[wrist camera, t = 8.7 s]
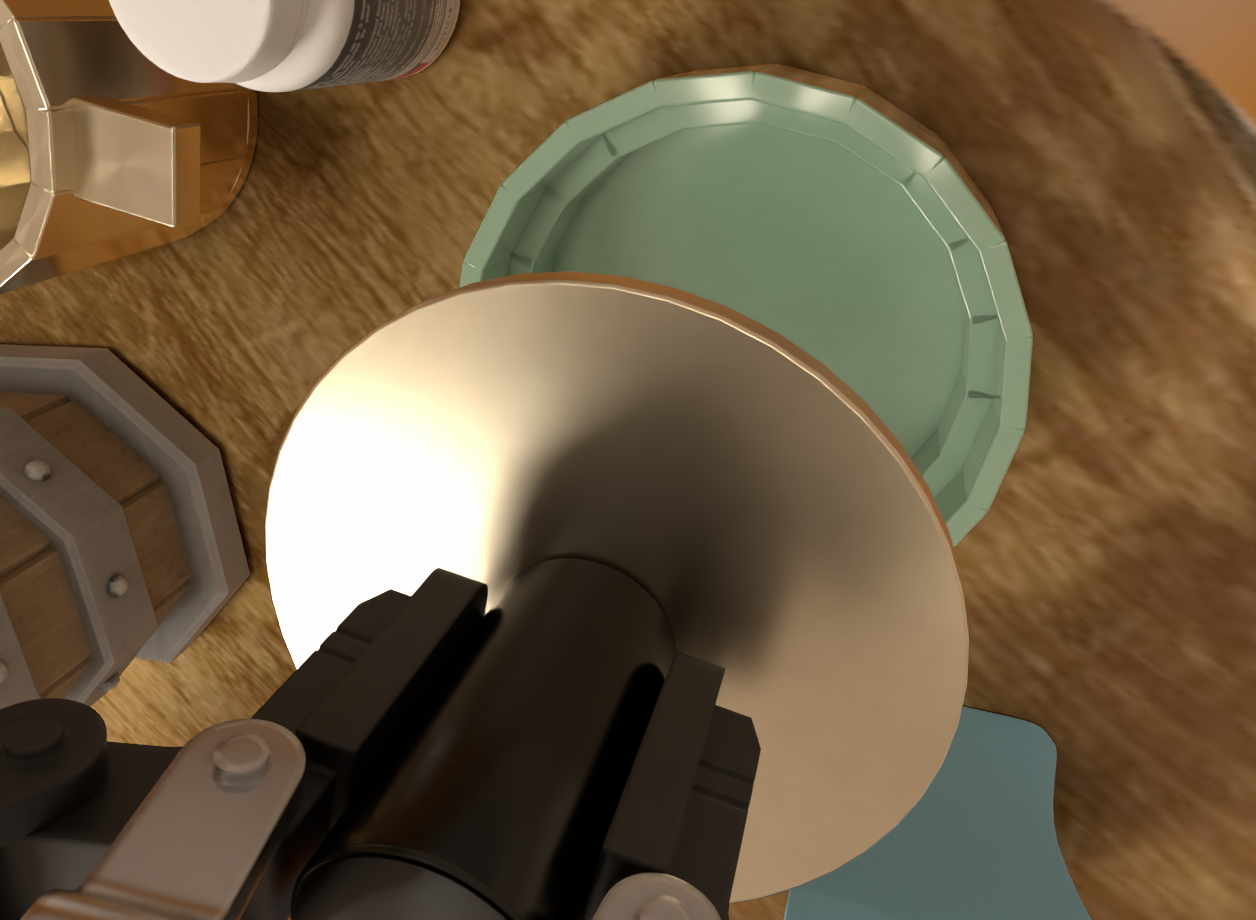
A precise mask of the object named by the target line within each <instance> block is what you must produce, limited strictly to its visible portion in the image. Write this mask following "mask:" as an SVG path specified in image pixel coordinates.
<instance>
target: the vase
mask: <svg viewBox="0 0 1256 920" xmlns="http://www.w3.org/2000/svg"><path fill="white" fill-rule="evenodd" d="M1056 762H1057V750H1056V746H1055V744H1054V742H1053V741H1052V739H1051V738H1050V737H1049V735H1048V734H1047V733H1046V731H1045V730H1044V729H1042V728H1041V727H1039V726H1038V725H1036V724H1034V723H1031V722H1028V721H1025V720H1021V719H1017V718H1013V717H1009V716H1005V715H1000V714H996V713H991V712H987V711H982V710H977V709H973V708H968V707H964V706H963V707H962V712H961V716H960V721H959V725H958V727H957V730H956V732H955V735H954V737H953V740H952V742H951V745H950V747H949V750H948V752H947V755H946V757H945V760H944V762H943V764H942V765H941V767H940V769H939V770H938V772H937V774H936V775H935V777H934V778H933V780H932V782H931V783H930V785H929V787H928V788H927V790H926V791H925V793H924V795H923V796H922V798H921V799H920V800H919V801H918V802H917V803H916V804H915V806H914V807H913V808H912V809H911V810H910V811H909V813H908V814H907V815H906V816H905V817H904V818H903V819H902V821H901V822H900V823H899V824H898V825H897V826H896V827H895V828H894V829H893V830H892V831H890V832H889V833H888V834H887V835H886V836H884V837H883V838H882V839H881V840H880V841H878V842H877V843H876V844H875V845H874V846H873V847H871V848H870V849H869V850H868V851H867V852H865V853H863V854H862V855H860V856H858V857H857V858H855V859H854V860H852V861H850V862H849V863H847V864H845V865H844V866H842V867H840V868H839V869H837V870H836V871H834V872H832V873H829V874H827V875H825V876H823V877H820V878H818V879H816V880H813V881H811V882H809V883H807V884H804V885H802V886H800V887H797V888H794V889H790V891H789V896H788V901H787V906H786V911H785V916H784V920H1092V919H1091V918H1090V916H1089V914H1088V912H1087V910H1086V908H1085V906H1084V905H1083V903H1082V901H1081V899H1080V896H1079V894H1078V892H1077V890H1076V888H1075V886H1074V884H1073V881H1072V879H1071V877H1070V875H1069V873H1068V870H1067V867H1066V864H1065V862H1064V859H1063V856H1062V853H1061V850H1060V848H1059V845H1058V841H1057V836H1056V831H1055V825H1054V812H1053V797H1054V782H1055V772H1056Z"/></svg>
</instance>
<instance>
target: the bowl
mask: <svg viewBox="0 0 1256 920" xmlns="http://www.w3.org/2000/svg"><path fill="white" fill-rule="evenodd" d="M569 271H571V272H583V273H594V274H605V275H616V276H625V277H629V278H634V279H638V280H643V281H647V282H651V283H656V284H660V285H665V286H669V287H674V288H677V289H680V290H683V291H686V292H688V293H691V294H694V295H697V296H699V297H702V298H705V299H707V300H710V301H713V302H716V303H718V304H721V305H724V306H727V307H729V308H731V309H733V310H735V311H737V312H739V313H741V314H743V315H745V316H747V317H748V318H750V319H752V320H754V321H756V322H758V323H760V324H762V325H764V326H766V327H768V328H770V329H772V330H774V331H776V332H777V333H779V334H781V335H782V336H783V337H785V338H786V339H788V340H789V341H791V342H792V343H794V344H795V345H797V346H798V347H799V348H801V349H802V350H804V351H805V352H807V353H808V354H810V355H811V356H812V357H814V358H815V359H817V360H818V361H820V362H821V363H823V364H824V365H825V366H826V367H827V368H829V369H830V370H831V371H832V372H833V373H834V374H835V375H836V376H837V377H839V378H840V379H841V380H842V381H843V382H844V383H845V384H846V385H848V386H849V387H850V388H851V389H852V390H853V391H854V392H855V393H856V394H858V395H859V396H860V397H861V398H862V399H863V400H864V401H865V402H866V403H867V404H868V405H869V406H870V408H871V409H872V410H873V411H874V412H875V413H876V415H877V416H878V417H879V418H880V419H881V420H882V422H883V423H884V424H885V425H886V426H887V427H888V429H889V430H890V431H891V432H892V433H893V434H894V436H895V437H896V438H897V439H898V440H899V441H900V443H901V444H902V446H903V447H904V449H905V450H906V452H907V454H908V455H909V457H910V458H911V460H912V461H913V463H914V464H915V466H916V468H917V469H918V471H919V472H920V474H921V475H922V477H923V478H924V480H925V482H926V483H927V485H928V486H929V488H930V491H931V493H932V495H933V497H934V499H935V501H936V504H937V506H938V508H939V510H940V512H941V515H942V517H943V519H944V521H945V523H946V526H947V528H948V530H949V532H950V536H951V539H952V543H953V546H954V547H955V546H956V545H957V544H958V543H959V542H960V541H961V540H962V539H963V538H964V537H965V535H966V534H967V533H968V532H969V531H970V530H971V529H972V528H973V527H974V526H975V525H976V524H977V523H978V522H979V521H980V520H981V519H982V518H983V517H984V516H985V515H986V514H987V513H988V510H989V509H990V507H991V505H992V503H993V501H994V499H995V496H996V494H997V492H998V490H999V488H1000V485H1001V483H1002V481H1003V479H1004V477H1005V475H1006V472H1007V470H1008V468H1009V466H1010V464H1011V461H1012V459H1013V457H1014V455H1015V453H1016V450H1017V448H1018V446H1019V444H1020V442H1021V440H1022V437H1023V435H1024V433H1025V428H1026V426H1027V413H1028V400H1029V387H1030V375H1031V362H1032V349H1033V336H1032V335H1033V331H1032V328H1031V324H1030V321H1029V317H1028V314H1027V310H1026V307H1025V303H1024V300H1023V296H1022V293H1021V289H1020V286H1019V282H1018V279H1017V275H1016V272H1015V268H1014V265H1013V261H1012V258H1011V254H1010V251H1009V247H1008V244H1007V241H1006V239H1005V236H1004V234H1003V231H1002V229H1001V227H1000V225H999V222H998V220H997V218H996V215H995V213H994V211H993V209H992V207H991V205H990V204H989V203H988V201H987V200H986V198H985V197H984V196H983V194H982V193H981V192H980V190H979V189H978V188H977V186H976V185H975V183H974V182H973V181H972V179H971V178H970V177H969V175H968V174H967V172H966V171H965V170H964V168H963V167H962V166H961V164H960V163H959V161H958V160H957V159H956V157H955V156H954V155H953V153H952V152H951V150H950V149H949V148H948V146H947V145H946V144H945V142H944V141H943V139H941V138H939V136H938V135H937V134H936V133H934V132H933V131H931V130H930V129H928V128H927V127H925V126H924V125H922V124H921V123H919V122H918V121H916V120H915V119H913V118H912V117H910V116H909V115H907V114H906V113H905V112H903V111H902V110H900V109H899V108H897V107H896V106H894V105H893V104H891V103H890V102H888V101H887V100H885V99H884V98H882V97H881V96H879V95H878V94H876V93H875V92H873V91H872V90H870V89H869V88H867V87H865V88H864V86H863V85H860V84H856V83H853V82H849V81H845V80H841V79H837V78H833V77H829V76H825V75H821V74H817V73H813V72H809V71H806V70H802V69H798V68H794V67H790V66H786V65H782V64H777V65H776V64H774V63H773V64H762V65H751V66H740V67H729V68H718V69H708V70H697V71H689V72H685V73H680V74H676V75H672V76H668V77H663V78H659V79H656V80H651V81H649V82H647V83H644V84H642V85H640V86H638V87H636V88H634V89H631V90H629V91H627V92H625V93H623V94H621V95H618V96H616V97H614V98H612V99H610V100H608V101H605V102H603V103H601V104H599V105H597V106H595V107H592V108H590V109H588V110H586V111H584V112H582V113H579V114H577V115H575V116H573V117H571V118H569V119H568V120H567V121H565V122H563V123H562V124H561V125H560V126H559V127H558V128H557V129H556V130H555V131H554V132H553V133H552V134H551V135H550V136H549V137H548V138H547V139H546V140H545V141H544V142H543V143H542V144H541V145H540V146H539V147H538V148H537V149H536V150H535V151H533V152H532V153H531V154H530V155H529V156H528V157H527V158H526V159H525V160H524V161H523V162H522V163H521V164H520V165H519V166H518V167H517V168H516V169H515V170H514V171H513V172H512V173H511V174H510V175H509V176H508V177H507V178H506V179H505V180H504V181H503V183H502V185H500V186H499V188H498V190H497V192H496V194H495V197H494V199H493V201H492V203H491V205H490V207H489V209H488V211H487V213H486V215H485V217H484V219H483V221H482V223H481V225H480V227H479V229H478V231H477V233H476V235H475V237H474V239H473V241H472V243H471V245H470V247H469V249H468V251H467V253H466V255H465V257H464V262H463V264H462V271H461V279H460V286H459V288H460V287H462V286H465V285H468V284H471V283H475V282H480V281H485V280H490V279H496V278H501V277H506V276H511V275H516V274H527V273H548V272H569Z"/></svg>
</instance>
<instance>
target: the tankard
mask: <svg viewBox="0 0 1256 920" xmlns="http://www.w3.org/2000/svg"><path fill="white" fill-rule="evenodd" d="M249 575H250V572H249V568H248V564H247V560H246V556H245V552H244V547H243V543H242V539H241V535H240V531H239V527H238V523H237V519H236V515H235V511H234V507H233V503H232V499H231V495H230V491H229V487H228V483H227V479H226V475H225V471H224V467H223V463H222V458H221V454H220V450H219V449H218V448H217V447H216V446H215V445H214V444H213V443H211V442H210V441H209V440H208V439H207V438H206V437H205V436H204V435H203V434H201V433H200V432H199V431H198V430H197V429H196V428H195V427H194V426H193V425H192V424H190V423H189V422H188V421H187V420H186V419H185V418H184V417H183V416H182V415H180V414H179V413H178V412H177V411H176V410H175V409H174V408H173V407H172V406H170V405H169V404H168V403H167V402H166V401H165V400H164V399H163V398H162V397H161V396H159V395H158V394H157V393H156V392H155V391H154V390H153V389H152V388H151V387H149V386H148V385H147V384H146V383H145V382H144V381H143V380H142V379H141V378H139V377H138V376H137V375H136V374H135V373H134V372H133V371H132V370H131V369H130V368H128V367H127V366H126V365H125V364H124V363H123V362H122V361H121V360H120V359H118V358H117V357H116V356H115V355H114V354H113V353H112V352H111V351H110V350H108V349H107V348H86V347H58V346H31V345H3V344H0V709H3V708H5V707H8V706H11V705H14V704H17V703H20V702H25V701H29V700H35V699H43V698H60V699H69V700H73V701H77V702H80V703H83V704H85V705H87V706H89V707H90V706H91V705H92V704H94V703H95V702H96V701H97V700H98V699H100V698H101V697H102V696H103V695H104V694H106V693H107V691H109V690H111V689H113V688H115V687H116V686H117V685H118V683H119V681H120V678H119V676H120V675H121V674H122V672H123V671H124V670H125V669H126V667H127V666H128V665H129V664H130V662H131V661H132V660H133V659H134V658H137V659H144V660H152V661H159V662H166V663H171V662H172V661H173V660H174V659H175V658H177V657H178V656H179V655H180V654H181V653H182V652H184V651H185V650H186V649H187V648H188V647H189V646H190V645H192V643H193V642H194V641H195V640H196V639H197V638H198V636H199V635H200V634H201V633H202V632H203V630H204V629H205V628H206V627H207V626H208V624H209V623H210V622H211V621H212V620H213V618H214V617H215V616H216V615H217V614H218V612H219V611H220V610H221V609H222V608H223V606H224V605H225V604H226V603H227V602H228V601H229V599H230V598H231V597H232V596H233V595H234V593H235V592H236V591H237V590H238V589H239V587H240V586H241V585H242V584H243V583H244V581H245V580H246V579H247V578H248V577H249Z"/></svg>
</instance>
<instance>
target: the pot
mask: <svg viewBox="0 0 1256 920" xmlns="http://www.w3.org/2000/svg"><path fill="white" fill-rule="evenodd" d="M257 127H258V101H257V92H256V90H253V89H249V88H246V87H243V86H240V85H238V84H236V83H226V82H220V83H199V82H193V81H188V80H185V79H182V78H178V77H176V76H174V75H172V74H170V73H168V72H166V71H164V70H163V69H161V68H159V67H158V66H157V65H155V64H154V63H153V62H151V61H150V60H149V59H148V58H147V57H145V56H144V55H143V54H142V53H141V52H140V51H139V49H138V48H137V47H136V46H135V45H134V44H133V43H132V41H131V40H130V39H129V37H128V35H127V34H126V33H125V31H124V30H123V28H122V27H121V25H120V23H119V22H118V20H117V18H116V16H115V14H114V11H113V9H112V7H111V5H110V2H109V0H0V294H1V293H4V292H8V291H11V290H14V289H18V288H21V287H24V286H28V285H31V284H34V283H37V282H41V281H44V280H47V279H51V278H54V277H57V276H61V275H64V274H67V273H71V272H74V271H77V270H81V269H84V268H87V267H91V266H94V265H97V264H101V263H104V262H107V261H111V260H114V259H117V258H121V257H124V256H127V255H131V254H134V253H137V252H141V251H144V250H147V249H151V248H154V247H157V246H161V245H164V244H167V243H171V242H174V241H177V240H181V239H184V238H186V237H188V236H189V235H190V234H192V233H193V232H196V231H198V230H200V229H202V228H204V227H205V226H207V225H208V224H210V223H211V222H213V221H214V220H216V219H217V218H218V217H219V216H220V215H221V214H222V213H223V212H224V211H225V210H226V209H227V208H228V207H229V205H230V204H231V203H232V201H233V200H234V199H235V197H236V196H237V195H238V193H239V191H240V189H241V187H242V185H243V183H244V181H245V180H246V177H247V174H248V171H249V169H250V166H251V163H252V159H253V155H254V150H255V145H256V139H257Z"/></svg>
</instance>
